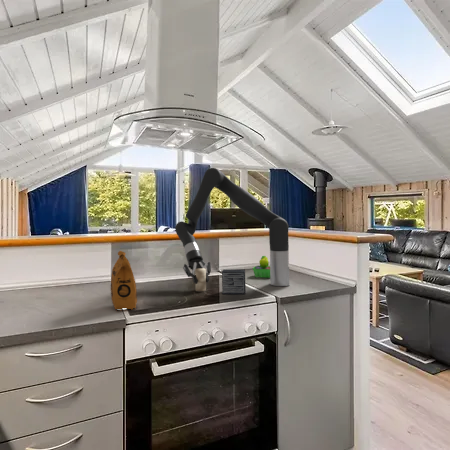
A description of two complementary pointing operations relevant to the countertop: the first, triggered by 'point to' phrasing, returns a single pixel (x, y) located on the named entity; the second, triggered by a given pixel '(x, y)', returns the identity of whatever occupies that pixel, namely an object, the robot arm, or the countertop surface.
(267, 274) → the fruit basket
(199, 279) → the birch cylinder
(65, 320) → the countertop surface
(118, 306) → the coffee package
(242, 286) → the small box
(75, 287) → the countertop surface
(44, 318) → the countertop surface
